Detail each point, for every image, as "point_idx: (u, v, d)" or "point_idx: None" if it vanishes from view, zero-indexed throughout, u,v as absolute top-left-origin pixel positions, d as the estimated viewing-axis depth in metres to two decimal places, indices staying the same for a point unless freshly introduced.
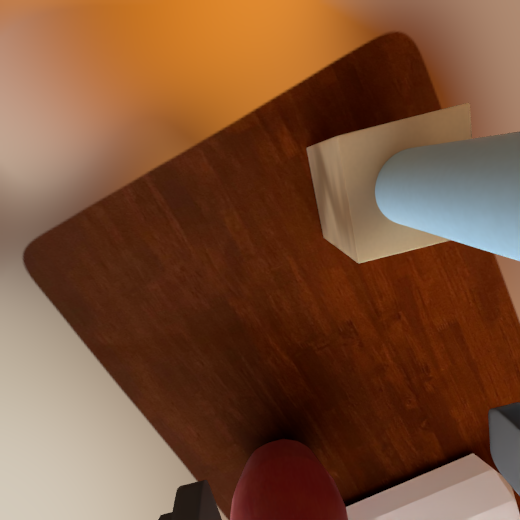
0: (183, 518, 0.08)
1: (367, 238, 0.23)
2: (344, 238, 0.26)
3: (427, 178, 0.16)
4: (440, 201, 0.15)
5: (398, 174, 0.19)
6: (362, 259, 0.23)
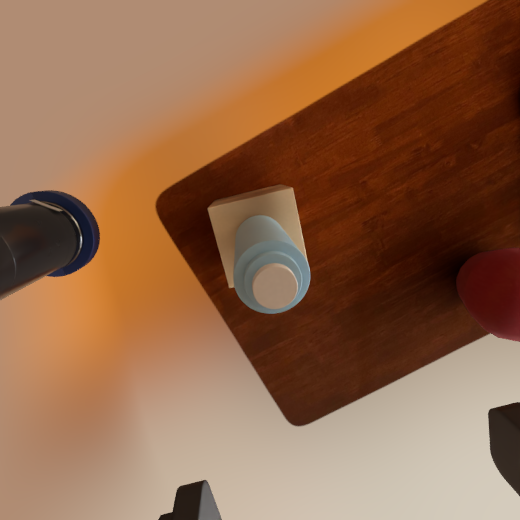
0: (183, 518, 0.08)
1: None
2: None
3: None
4: None
5: None
6: None
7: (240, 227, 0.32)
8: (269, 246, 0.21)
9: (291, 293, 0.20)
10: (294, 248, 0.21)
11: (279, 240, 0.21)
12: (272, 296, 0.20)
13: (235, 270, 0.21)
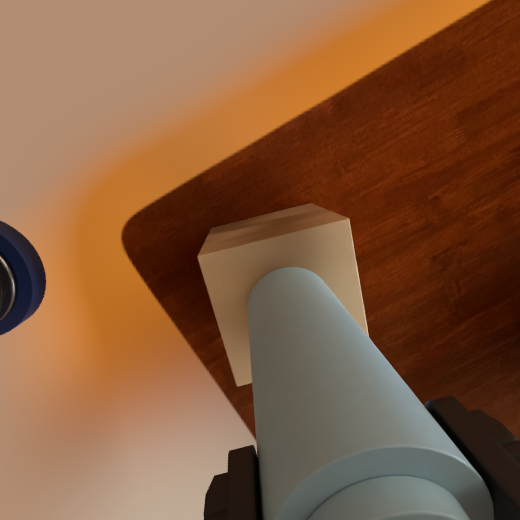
0: (238, 475, 0.08)
1: None
2: None
3: None
4: None
5: None
6: None
7: (257, 293, 0.18)
8: (381, 463, 0.07)
9: None
10: (458, 463, 0.07)
11: (411, 440, 0.07)
12: None
13: None
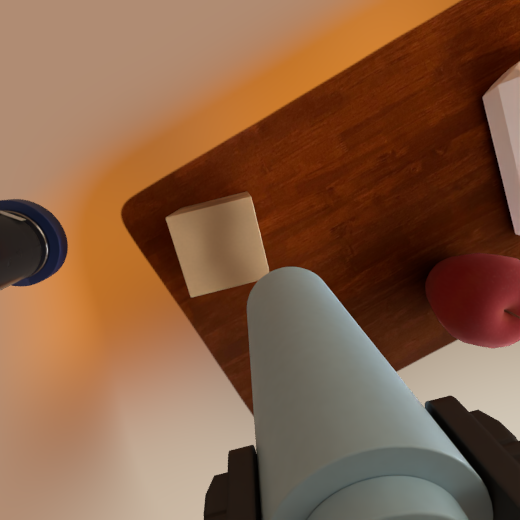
0: (238, 475, 0.08)
1: (254, 273, 0.35)
2: None
3: None
4: None
5: None
6: None
7: (257, 293, 0.18)
8: (380, 463, 0.07)
9: None
10: (457, 463, 0.07)
11: (410, 440, 0.07)
12: None
13: None
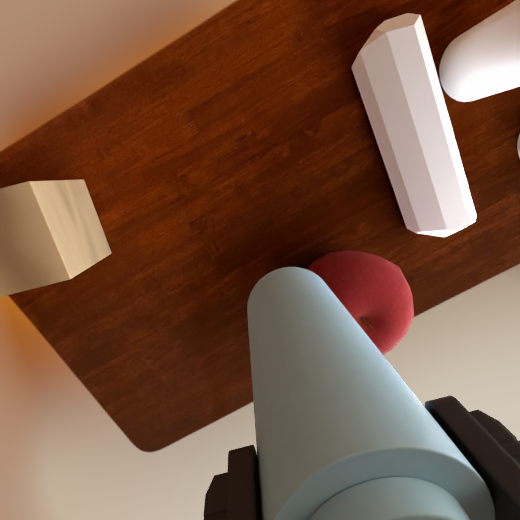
0: (239, 475, 0.08)
1: (49, 273, 0.29)
2: None
3: None
4: None
5: None
6: (67, 276, 0.30)
7: (257, 293, 0.17)
8: (381, 465, 0.07)
9: None
10: (459, 465, 0.07)
11: (412, 441, 0.07)
12: None
13: None
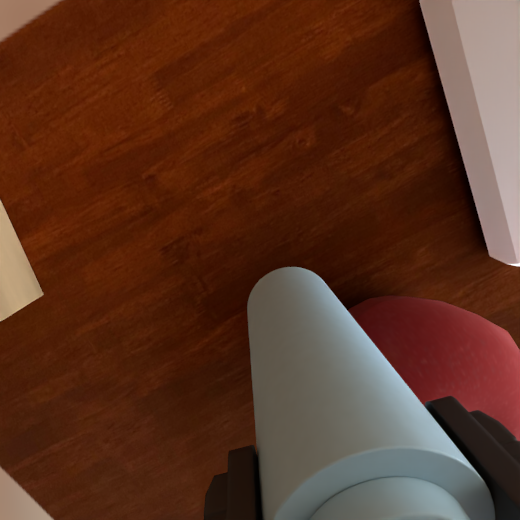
0: (239, 475, 0.08)
1: None
2: None
3: None
4: None
5: None
6: None
7: (257, 293, 0.17)
8: (381, 464, 0.07)
9: None
10: (459, 465, 0.07)
11: (412, 441, 0.07)
12: None
13: None
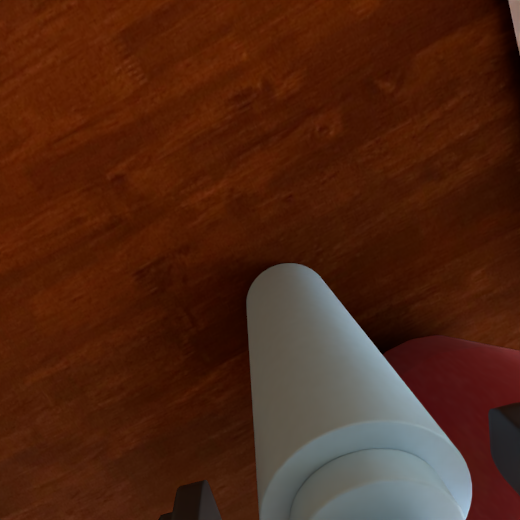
0: (183, 518, 0.08)
1: None
2: None
3: None
4: None
5: None
6: None
7: (256, 288, 0.18)
8: (366, 437, 0.07)
9: None
10: (437, 438, 0.07)
11: (394, 416, 0.07)
12: None
13: (266, 500, 0.07)
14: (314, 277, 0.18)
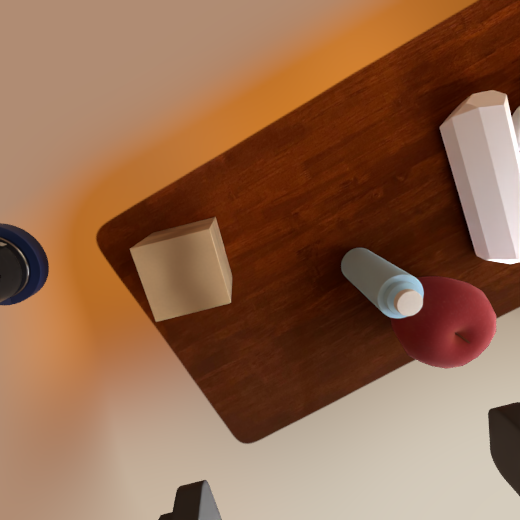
0: (183, 518, 0.08)
1: (214, 299, 0.37)
2: None
3: None
4: None
5: None
6: (228, 300, 0.37)
7: (349, 257, 0.46)
8: (401, 277, 0.35)
9: (419, 306, 0.34)
10: (415, 278, 0.35)
11: (406, 274, 0.35)
12: (408, 308, 0.34)
13: (379, 292, 0.35)
14: (372, 252, 0.45)
